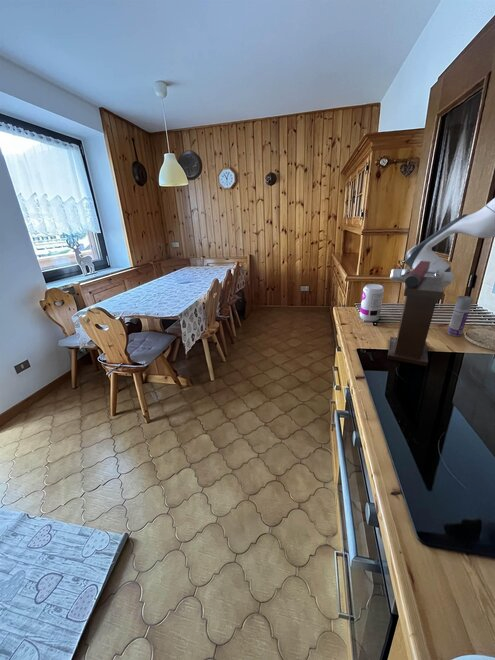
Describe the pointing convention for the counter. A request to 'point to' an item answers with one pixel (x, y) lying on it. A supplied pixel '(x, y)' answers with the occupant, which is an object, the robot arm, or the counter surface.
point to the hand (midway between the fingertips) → (422, 271)
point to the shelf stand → (416, 322)
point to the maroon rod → (417, 274)
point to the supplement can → (371, 302)
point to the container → (459, 315)
